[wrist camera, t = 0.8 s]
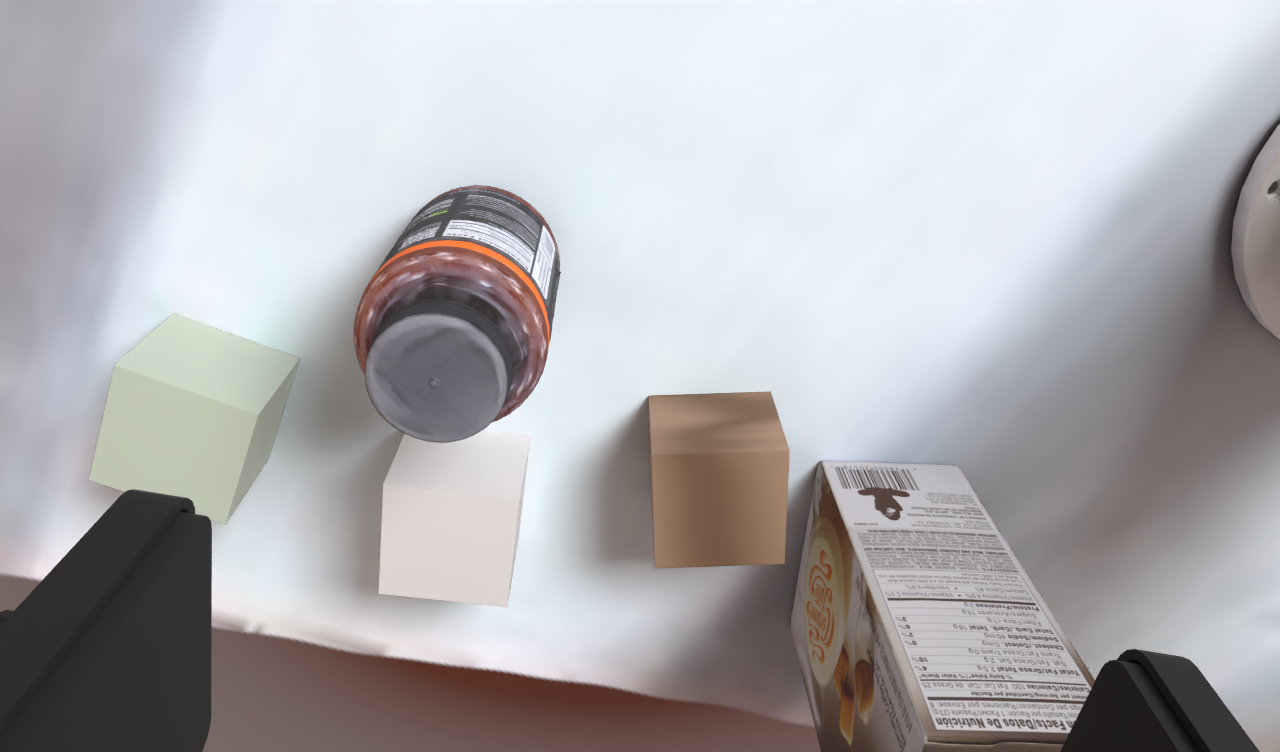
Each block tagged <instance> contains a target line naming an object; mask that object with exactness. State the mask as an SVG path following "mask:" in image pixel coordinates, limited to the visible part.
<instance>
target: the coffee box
mask: <svg viewBox="0 0 1280 752" xmlns="http://www.w3.org/2000/svg"><path fill="white" fill-rule="evenodd" d="M790 628H791V632H792V636H793V640H794V644H795V647H796V651H797V655H798V660H799V664H800V668H801V673H802V676H803V681H804V684H805V688H806V692H807V696H808V699H809V703H810V708H811V712H812V716H813V720H814V724H815V728H816V732H817V736H818V740H819V744H820V748H821V752H1060V751H1061V749H1062V747H1063V745H1064V743H1065V741H1066V739H1067V737H1068V735H1069V733H1070V731H1071V729H1072V727H1073V725H1074V723H1075V721H1076V719H1077V717H1078V715H1079V713H1080V711H1081V709H1082V707H1083V705H1084V703H1085V701H1086V699H1087V697H1088V695H1089V693H1090V691H1091V688H1092V686H1093V684H1094V682H1095V680H1094V678H1093V677H1092V675H1091V674H1090V672H1089V670H1088V669H1087V667H1086V666H1085V664H1084V663H1083V661H1082V659H1081V658H1080V656H1079V655H1078V653H1077V651H1076V650H1075V648H1074V647H1073V645H1072V644H1071V642H1070V640H1069V639H1068V637H1067V636H1066V634H1065V633H1064V631H1063V630H1062V628H1061V626H1060V625H1059V623H1058V622H1057V620H1056V619H1055V617H1054V615H1053V614H1052V612H1051V611H1050V609H1049V608H1048V606H1047V604H1046V603H1045V601H1044V600H1043V598H1042V597H1041V595H1040V594H1039V592H1038V590H1037V589H1036V587H1035V586H1034V584H1033V583H1032V581H1031V579H1030V578H1029V576H1028V575H1027V573H1026V572H1025V570H1024V568H1023V567H1022V565H1021V564H1020V562H1019V561H1018V559H1017V558H1016V556H1015V555H1014V553H1013V551H1012V550H1011V548H1010V547H1009V545H1008V543H1007V542H1006V540H1005V539H1004V537H1003V536H1002V534H1001V533H1000V531H999V530H998V528H997V526H996V525H995V523H994V522H993V520H992V519H991V517H990V515H989V514H988V512H987V511H986V509H985V507H984V505H983V504H982V502H981V501H980V500H979V498H978V496H977V495H976V493H975V492H974V490H973V488H972V487H971V485H970V484H969V482H968V480H967V479H966V477H965V476H964V474H963V473H962V471H961V470H960V468H959V467H957V466H953V465H933V464H906V463H880V462H851V461H820V462H819V464H818V467H817V472H816V477H815V482H814V487H813V493H812V499H811V505H810V510H809V516H808V522H807V528H806V534H805V539H804V545H803V551H802V557H801V563H800V568H799V574H798V580H797V586H796V592H795V598H794V604H793V610H792V616H791V622H790Z"/></svg>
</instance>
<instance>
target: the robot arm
mask: <svg viewBox="0 0 1280 752" xmlns="http://www.w3.org/2000/svg"><path fill="white" fill-rule="evenodd" d="M1231 253H1232V260H1233V267H1234V274H1235V279H1236V282H1237V284H1238V287H1239V289H1240V292H1241V295H1242V297H1243V300H1244V302H1245V304H1246V305H1247V306H1248V308H1249V309H1250V311H1251V312H1252V313H1253V315H1254V316H1255V317H1256V319H1257V320H1258V322H1259V323H1260V324H1261V325H1263V326H1264V327H1265V328H1266V329H1267V330H1269V331H1270V332H1271V333H1272V334H1273V335H1275V336H1276V337H1277V338H1278V339H1280V124H1279V125H1278V126H1277V128H1276V129H1275V131H1274V132H1273V134H1272V135H1271V137H1270V138H1269V140H1268V141H1267V143H1266V144H1265V146H1264V147H1263V149H1262V150H1261V152H1260V153H1259V155H1258V156H1257V158H1256V160H1255V162H1254V164H1253V166H1252V168H1251V170H1250V173H1249V175H1248V177H1247V179H1246V181H1245V183H1244V186H1243V188H1242V190H1241V194H1240V198H1239V201H1238V205H1237V209H1236V213H1235V216H1234V220H1233V232H1232V246H1231ZM211 581H212V528H211V521H210V519H209V517H207V516H204V515H198V514H195V506H194V504H193V501H192V500H190V499H189V498H185V497H179V496H173V495H166V494H160V493H154V492H148V491H141V490H135V489H132V490H127V491H126V492H125V493H123V494H122V495H121V496H120V497H119V498H118V499H117V500H116V501H115V502H114V503H113V505H112V506H111V507H110V508H109V509H108V510H107V511H106V512H105V513H104V514H103V515H102V516H101V518H100V519H99V520H98V521H97V522H96V523H95V524H94V525H93V526H92V527H91V528H90V529H89V531H88V532H87V533H86V534H85V535H84V536H83V537H82V538H81V539H80V540H79V541H78V542H77V544H76V545H75V546H74V547H73V548H72V549H71V550H70V551H69V552H68V553H67V554H66V555H65V557H64V558H63V559H62V560H61V561H60V562H59V563H58V564H57V565H56V566H55V567H54V568H53V570H52V571H51V572H50V573H49V574H48V575H47V576H46V577H45V578H44V579H43V580H42V581H41V583H40V584H39V585H38V586H37V587H36V588H35V589H34V590H33V591H32V592H31V594H29V596H28V597H27V598H26V599H25V600H24V601H23V602H22V603H21V604H20V605H19V606H18V607H17V609H16V610H15V611H9V610H5V611H2V612H0V752H202V751H203V748H204V745H205V743H206V740H207V736H208V732H209V728H210V722H211ZM1060 752H1259V750H1258V749H1257V748H1256V746H1255V745H1254V744H1253V742H1252V741H1251V739H1250V738H1249V737H1248V735H1247V734H1246V733H1245V731H1244V730H1243V729H1242V727H1241V726H1240V725H1239V723H1238V722H1237V721H1236V719H1235V718H1234V716H1233V715H1232V714H1231V712H1230V711H1229V710H1228V708H1227V707H1226V706H1225V704H1224V703H1223V702H1222V700H1221V699H1220V697H1219V696H1218V695H1217V693H1216V692H1215V691H1214V689H1213V688H1212V687H1211V685H1210V684H1209V683H1208V681H1207V680H1206V678H1205V677H1204V676H1203V674H1202V673H1201V672H1200V670H1199V669H1198V668H1197V667H1196V666H1195V665H1194V664H1193V663H1192V662H1191V661H1190V660H1189V659H1186V658H1184V657H1180V656H1174V655H1168V654H1161V653H1155V652H1149V651H1143V650H1136V649H1132V650H1127V651H1125V652H1124V653H1122V654H1121V655H1120V656H1119V658H1118V659H1117V660H1112V661H1109V662H1107V663H1106V664H1104V666H1103V667H1102V669H1101V670H1100V672H1099V674H1098V676H1097V678H1096V680H1095V682H1094V684H1093V686H1092V688H1091V691H1090V693H1089V695H1088V697H1087V699H1086V701H1085V703H1084V705H1083V707H1082V709H1081V711H1080V713H1079V715H1078V717H1077V719H1076V721H1075V723H1074V725H1073V727H1072V729H1071V731H1070V733H1069V735H1068V737H1067V739H1066V741H1065V743H1064V745H1063V747H1062V749H1061V751H1060Z"/></svg>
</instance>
